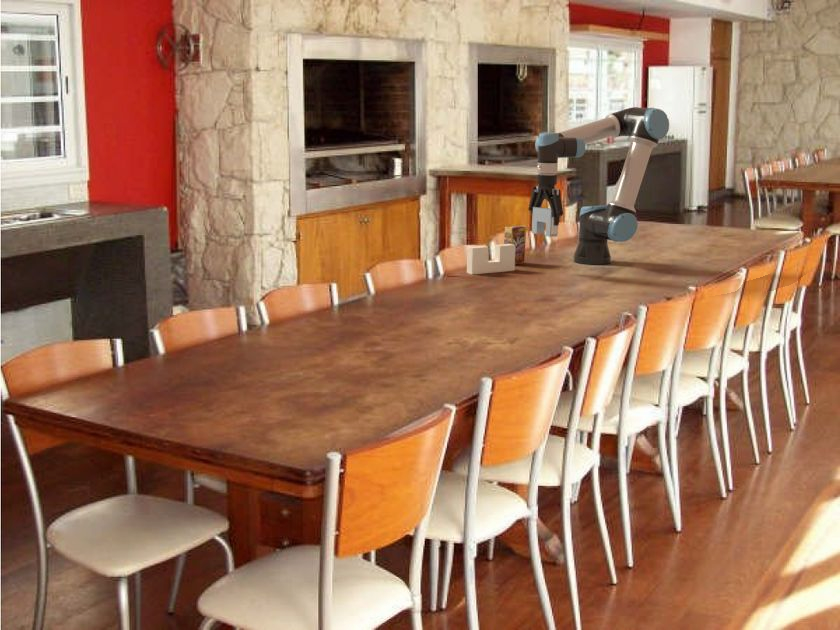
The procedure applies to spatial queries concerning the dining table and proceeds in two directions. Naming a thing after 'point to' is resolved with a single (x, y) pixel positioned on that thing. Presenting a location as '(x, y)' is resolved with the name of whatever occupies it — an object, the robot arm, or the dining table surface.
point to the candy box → (516, 241)
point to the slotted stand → (501, 262)
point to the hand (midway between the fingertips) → (544, 231)
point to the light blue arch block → (542, 221)
